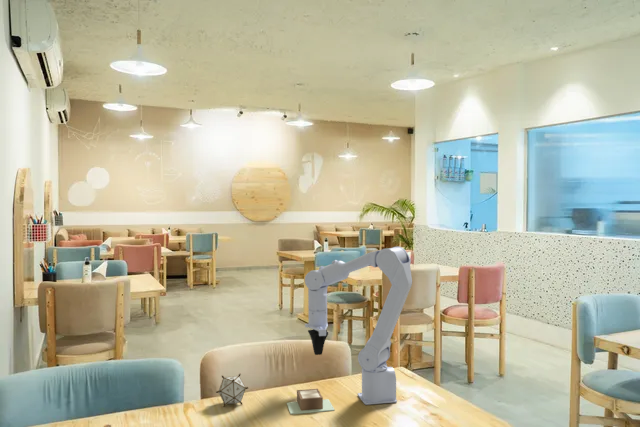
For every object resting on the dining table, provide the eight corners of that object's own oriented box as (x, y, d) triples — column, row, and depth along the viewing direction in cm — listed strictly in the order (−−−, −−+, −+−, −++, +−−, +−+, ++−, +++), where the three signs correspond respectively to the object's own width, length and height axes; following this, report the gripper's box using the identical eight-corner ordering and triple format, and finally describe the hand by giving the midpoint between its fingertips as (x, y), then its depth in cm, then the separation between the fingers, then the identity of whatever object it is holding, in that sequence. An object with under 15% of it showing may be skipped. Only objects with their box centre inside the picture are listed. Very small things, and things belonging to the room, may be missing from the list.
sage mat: (328, 400, 142) (328, 399, 142) (334, 410, 135) (334, 409, 135) (286, 403, 140) (286, 402, 140) (290, 414, 132) (290, 413, 132)
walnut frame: (317, 388, 142) (322, 397, 135) (317, 399, 142) (322, 408, 135) (296, 390, 141) (300, 399, 134) (297, 400, 141) (300, 410, 134)
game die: (236, 419, 138) (239, 398, 132) (209, 406, 140) (211, 385, 134) (251, 394, 145) (254, 373, 140) (225, 382, 147) (227, 361, 141)
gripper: (301, 305, 158) (301, 348, 158) (309, 314, 144) (309, 362, 144) (322, 304, 159) (323, 347, 159) (333, 313, 145) (333, 360, 145)
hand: (318, 354), depth 152 cm, fingers closed
